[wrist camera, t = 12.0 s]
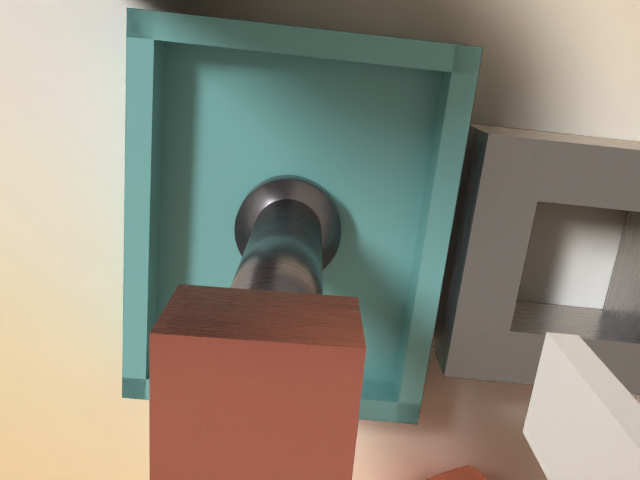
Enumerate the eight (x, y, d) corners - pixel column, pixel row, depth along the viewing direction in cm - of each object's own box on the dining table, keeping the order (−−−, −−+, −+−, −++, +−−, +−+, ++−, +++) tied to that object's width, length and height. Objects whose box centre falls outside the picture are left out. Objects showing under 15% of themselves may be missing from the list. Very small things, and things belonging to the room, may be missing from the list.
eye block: (466, 123, 26) (488, 133, 22) (699, 148, 26) (754, 162, 23) (429, 338, 29) (444, 376, 25) (639, 358, 29) (680, 398, 26)
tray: (145, 12, 24) (126, 7, 22) (467, 47, 25) (483, 47, 22) (138, 369, 29) (122, 397, 27) (409, 394, 30) (417, 424, 27)
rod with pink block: (235, 270, 27) (140, 520, 12) (239, 171, 26) (138, 322, 11) (335, 277, 27) (355, 533, 13) (344, 178, 26) (378, 339, 11)
